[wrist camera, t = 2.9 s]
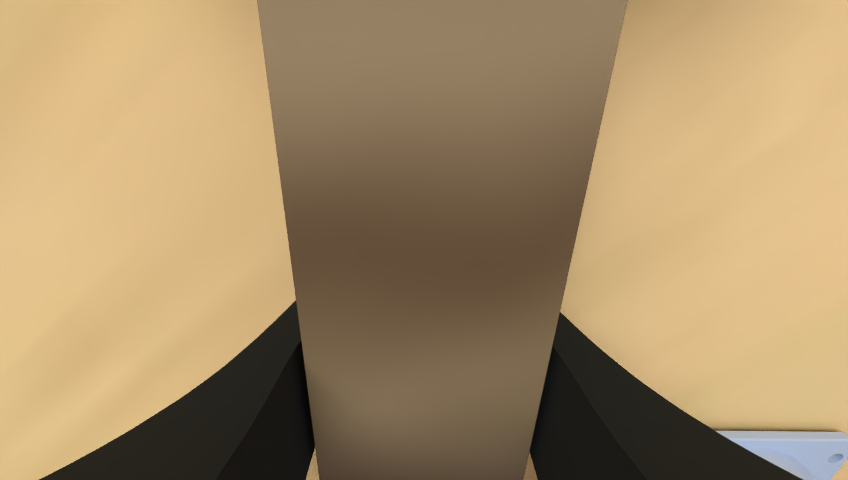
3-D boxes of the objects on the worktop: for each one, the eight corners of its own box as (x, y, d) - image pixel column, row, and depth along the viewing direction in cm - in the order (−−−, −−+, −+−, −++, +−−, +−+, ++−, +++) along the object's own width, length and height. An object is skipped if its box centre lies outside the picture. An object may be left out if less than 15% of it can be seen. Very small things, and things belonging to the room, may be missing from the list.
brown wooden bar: (487, 376, 14) (515, 515, 10) (350, 374, 14) (324, 514, 10) (565, -206, 7) (728, -466, 4) (312, -218, 7) (192, -502, 3)
